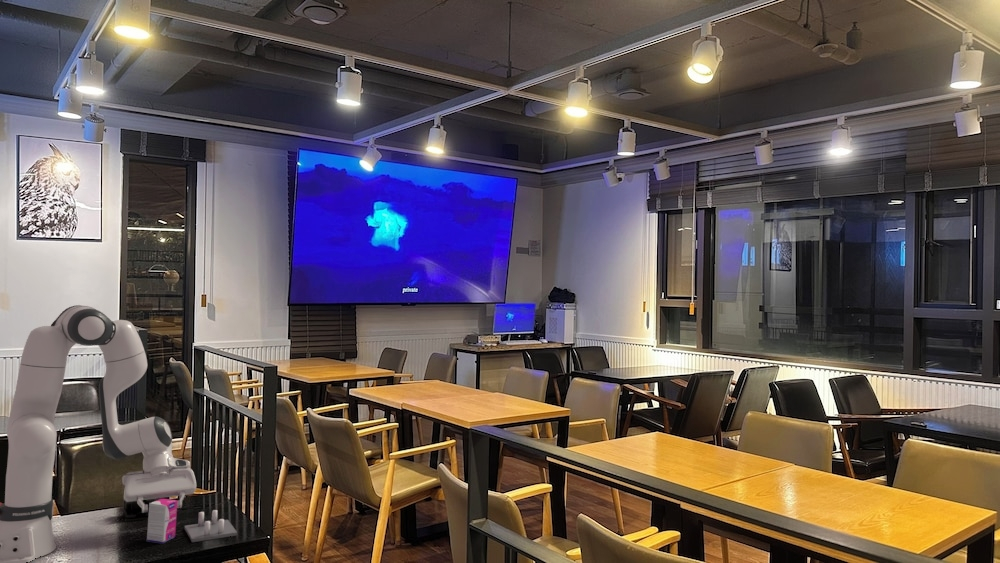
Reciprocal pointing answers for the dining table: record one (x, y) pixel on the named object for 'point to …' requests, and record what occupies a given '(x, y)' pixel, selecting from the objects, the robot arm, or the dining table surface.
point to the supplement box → (162, 520)
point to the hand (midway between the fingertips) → (162, 509)
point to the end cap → (135, 510)
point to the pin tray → (210, 528)
